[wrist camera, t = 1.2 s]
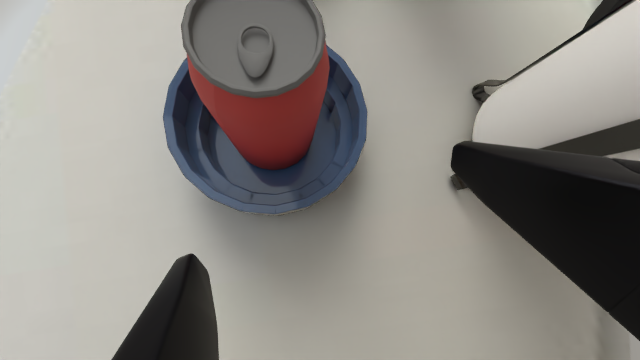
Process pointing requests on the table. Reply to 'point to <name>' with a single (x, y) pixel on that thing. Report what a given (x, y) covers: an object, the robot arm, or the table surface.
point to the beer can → (259, 73)
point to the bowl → (256, 183)
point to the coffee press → (573, 93)
